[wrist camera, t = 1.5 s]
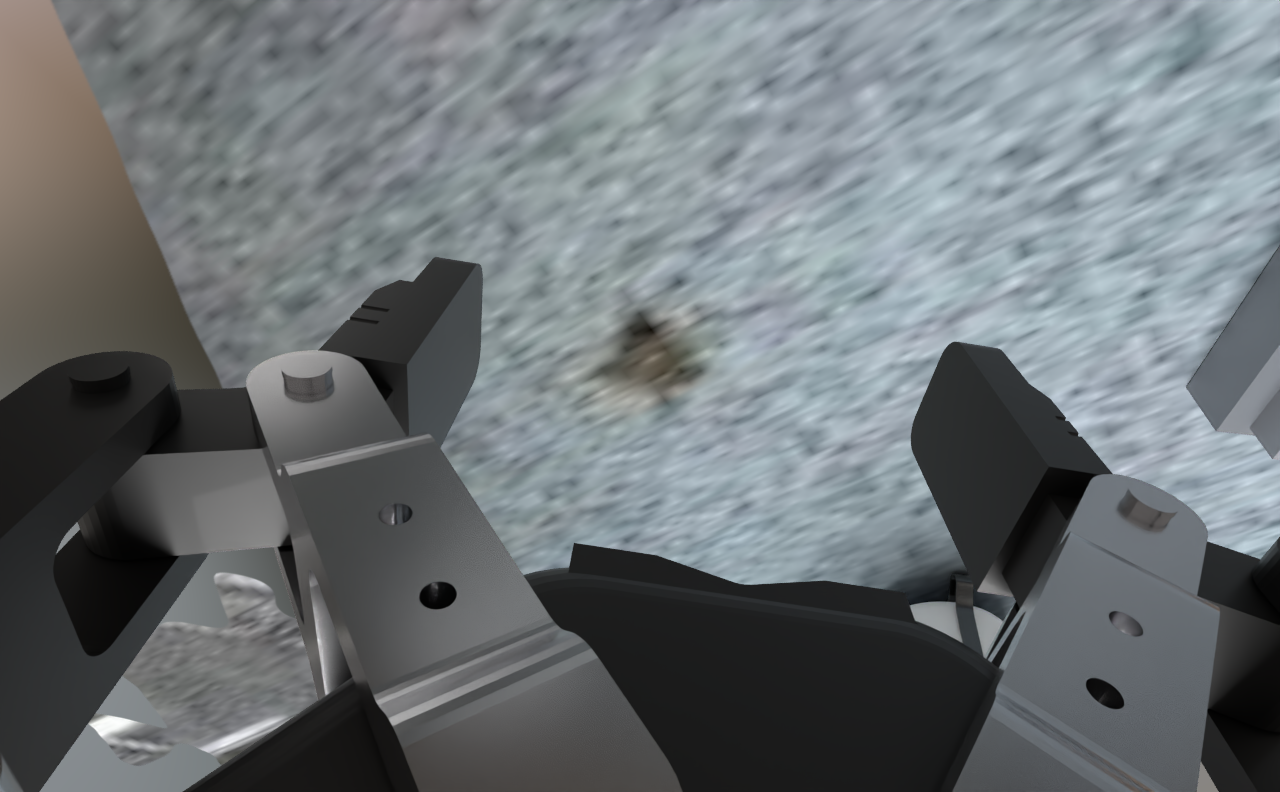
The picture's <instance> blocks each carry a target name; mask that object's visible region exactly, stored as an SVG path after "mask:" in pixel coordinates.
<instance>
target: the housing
mask: <svg viewBox="0 0 1280 792" xmlns="http://www.w3.org/2000/svg"><path fill="white" fill-rule="evenodd" d="M1186 388H1187V390H1188V391H1189V392H1190V394H1191V395H1192V397H1193V398H1194V400H1195V401H1196V403H1197V404H1198V406H1199V407H1200V409H1201V410H1202V411H1203V413H1204V414H1205V416H1206V417H1207V419H1208V420H1209V422H1210V423H1211V425H1212V426H1213V428H1214V429H1215V431H1217V432H1227V433H1236V434H1245V435H1255V436H1256V437H1257V439H1258V440H1259V441H1260V443H1261V444H1262V445H1263V447H1264V448H1265V450H1266V451H1267V452H1268V454H1269V455H1270V456H1271V458H1272V459H1276V460H1280V246H1279V248H1278V249H1277V251H1276V253H1275V254H1274V256H1273V257H1272V259H1271V260H1270V262H1269V263H1268V265H1267V266H1266V268H1265V269H1264V271H1263V272H1262V274H1261V275H1260V277H1259V278H1258V280H1257V281H1256V283H1255V284H1254V286H1253V287H1252V289H1251V290H1250V292H1249V293H1248V295H1247V296H1246V298H1245V299H1244V301H1243V302H1242V304H1241V305H1240V307H1239V308H1238V310H1237V311H1236V313H1235V314H1234V316H1233V317H1232V319H1231V321H1230V322H1229V324H1228V325H1227V327H1226V328H1225V330H1224V331H1223V333H1222V334H1221V336H1220V337H1219V339H1218V340H1217V342H1216V343H1215V345H1214V346H1213V348H1212V349H1211V351H1210V352H1209V354H1208V355H1207V357H1206V358H1205V360H1204V361H1203V363H1202V364H1201V366H1200V367H1199V369H1198V370H1197V372H1196V373H1195V375H1194V376H1193V378H1192V379H1191V381H1190V382H1189V384H1188V385H1187V387H1186Z"/></svg>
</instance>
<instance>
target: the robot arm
mask: <svg viewBox="0 0 1280 792" xmlns="http://www.w3.org/2000/svg"><path fill="white" fill-rule="evenodd" d="M482 286H483V275H482V268H481V265H480V264H476V263H470V262H464V261H457V260H451V259H445V258H439V257H435V258H433V259H432V261H431V262H430V263H429V264H428V265H427V266H426V268H425V269H424V270H423V271H422V272H421V273H420V275H419V276H418V277H417V278H416V279H415V280H414V282H409V281H403V280H398V281H396V282H394V283H391V284H389V285H387V286H384V287H382V288H380V289H377V290H375V291H374V292H373V293H372V294H371V295H370V296H369V298H368V299H367V300H366V301H365V302H364V303H363V304H362V306H361V308H358V309H357V310H356V311H355V312H354V313H353V314H352V315H351V316H350V320H347V321H346V322H345V323H344V324H343V325H342V326H341V327H340V328H339V329H338V330H337V331H336V332H335V333H334V334H333V335H332V336H331V338H330V339H329V340H328V341H327V342H326V343H325V344H324V345H323V346H322V347H321V348H320V349H319V350H318V351H316V350H315V351H299V352H292V353H287V354H283V355H279V356H276V357H273V358H271V359H268V360H266V361H264V362H262V363H261V364H259V365H258V366H256V367H255V368H254V369H253V370H252V371H251V372H250V373H249V375H248V377H247V379H246V387H244V388H230V389H195V390H177V389H176V385H175V381H174V376H173V372H172V369H171V367H170V365H169V364H168V363H167V362H166V361H164V360H163V359H161V358H159V357H156V356H153V355H150V354H145V353H139V352H128V351H121V352H120V351H117V352H102V353H95V354H89V355H84V356H80V357H76V358H73V359H69V360H66V361H64V362H61V363H58V364H56V365H53V366H51V367H49V368H47V369H46V370H44V371H42V372H41V373H39V374H38V375H36V376H35V377H33V378H32V379H30V380H29V381H28V382H26V383H25V384H23V385H22V386H21V387H19V388H18V389H16V390H15V391H13V392H12V393H11V394H9V395H8V396H6V397H5V398H3V399H2V400H1V401H0V792H39V791H40V790H41V789H42V787H43V786H44V784H45V783H46V782H47V780H48V779H49V777H50V776H51V774H52V773H53V772H54V770H55V769H56V767H57V766H58V765H59V763H60V762H61V760H62V759H63V758H64V756H65V755H66V754H67V752H68V751H69V749H70V748H71V746H72V745H73V744H74V742H75V741H76V739H77V738H78V737H79V735H80V734H81V733H82V731H83V730H84V728H85V727H86V725H87V724H88V723H89V721H90V720H91V718H92V717H93V716H94V714H95V713H96V711H97V710H98V709H99V707H100V706H101V704H102V703H103V701H104V700H105V699H106V697H107V696H108V695H109V693H110V692H111V690H112V689H113V688H114V686H115V685H116V683H117V682H118V681H119V679H120V678H121V676H122V675H123V674H124V672H125V671H126V669H127V668H128V667H129V665H130V664H131V662H132V661H133V660H134V658H135V657H136V655H137V654H138V653H139V651H140V650H141V648H142V647H143V646H144V644H145V643H146V641H147V640H148V639H149V637H150V636H151V634H152V633H153V632H154V630H155V629H156V627H157V626H158V625H159V623H160V622H161V620H162V619H163V617H164V616H165V614H166V613H167V612H168V610H169V609H170V608H171V606H172V605H173V603H174V602H175V601H176V599H177V598H178V597H179V595H180V594H181V592H182V591H183V589H184V588H185V587H186V585H187V584H188V582H189V581H190V580H191V578H192V577H193V575H194V574H195V573H196V571H197V570H198V568H199V567H200V566H201V564H202V563H203V561H204V560H205V559H206V557H207V555H208V554H209V553H210V552H221V551H233V550H243V549H255V548H266V547H274V548H275V554H276V557H277V560H278V563H279V566H280V570H281V572H282V576H283V579H284V582H285V585H286V588H287V591H288V594H289V598H290V601H291V604H292V607H293V610H294V613H295V616H296V619H297V623H298V626H299V629H300V632H301V635H302V638H303V641H304V644H305V648H306V651H307V655H308V658H309V662H310V666H311V671H312V675H313V680H314V684H315V688H316V693H317V697H318V701H317V702H315V703H314V704H312V705H311V706H309V707H308V708H306V709H305V710H303V711H302V712H300V713H299V714H297V715H296V716H294V717H293V718H291V719H290V720H289V721H287V722H286V723H284V724H283V725H281V726H280V727H278V728H277V729H275V730H274V731H272V732H271V733H269V734H268V735H266V736H265V737H263V738H262V739H260V740H259V741H257V742H256V743H254V744H253V745H251V746H250V747H248V748H247V749H245V750H244V751H243V752H241V753H240V754H238V755H237V756H235V757H234V758H232V759H231V760H229V761H228V762H226V763H225V764H223V765H222V766H220V767H219V768H217V769H216V770H214V771H213V772H211V773H210V774H208V775H207V776H205V777H204V778H203V779H201V780H199V781H198V782H197V783H195V784H194V785H192V786H191V787H189V788H188V789H186V790H185V791H183V792H1197V784H1198V777H1199V769H1200V762H1202V764H1203V765H1204V767H1205V769H1206V770H1207V772H1208V774H1209V776H1210V777H1211V779H1212V781H1213V782H1214V784H1215V786H1216V788H1217V789H1218V791H1219V792H1280V537H1279V538H1278V540H1277V541H1276V542H1275V543H1274V544H1273V545H1272V547H1271V548H1270V549H1269V550H1268V551H1267V552H1266V554H1265V555H1264V556H1263V557H1262V558H1261V560H1260V559H1258V558H1255V557H1252V556H1249V555H1246V554H1243V553H1240V552H1237V551H1234V550H1231V549H1228V548H1225V547H1222V546H1219V545H1216V544H1213V543H1210V542H1207V538H1208V531H1207V528H1206V526H1205V524H1204V523H1203V521H1202V520H1201V519H1200V517H1199V516H1198V515H1197V514H1196V513H1195V512H1194V511H1193V510H1192V509H1190V508H1189V507H1188V506H1187V505H1185V504H1184V503H1183V502H1181V501H1180V500H1178V499H1177V498H1175V497H1174V496H1172V495H1171V494H1169V493H1167V492H1165V491H1163V490H1161V489H1159V488H1157V487H1155V486H1153V485H1151V484H1148V483H1146V482H1143V481H1140V480H1137V479H1134V478H1131V477H1127V476H1122V475H1115V474H1112V473H1111V471H1110V470H1109V469H1108V468H1107V467H1106V465H1105V464H1104V463H1103V462H1102V461H1101V459H1100V458H1099V457H1098V456H1097V455H1096V453H1095V452H1094V451H1093V450H1092V449H1091V447H1090V446H1089V445H1088V444H1087V443H1086V441H1085V440H1084V439H1083V438H1082V437H1079V436H1078V432H1077V430H1076V429H1075V428H1074V427H1073V426H1072V424H1071V423H1070V422H1069V421H1065V418H1066V417H1065V416H1064V415H1063V414H1062V412H1061V411H1060V410H1059V409H1058V408H1057V406H1056V405H1055V404H1054V403H1053V402H1052V400H1051V399H1050V398H1048V397H1047V396H1045V395H1044V394H1043V393H1041V392H1040V391H1038V390H1037V389H1036V388H1034V387H1033V386H1031V385H1030V384H1029V383H1028V382H1027V381H1026V380H1025V378H1024V377H1023V376H1022V375H1021V373H1020V372H1019V371H1018V370H1017V369H1016V367H1015V366H1014V365H1013V364H1012V362H1011V361H1010V360H1009V359H1008V357H1007V356H1006V355H1005V354H1004V352H1003V351H1002V350H1000V349H998V348H992V347H986V346H980V345H973V344H967V343H961V342H952V343H951V344H949V345H948V346H947V347H946V349H945V350H944V352H943V353H942V356H941V358H940V360H939V362H938V365H937V367H936V369H935V372H934V374H933V376H932V379H931V381H930V383H929V386H928V388H927V390H926V393H925V395H924V397H923V400H922V402H921V404H920V407H919V409H918V411H917V414H916V416H915V419H914V422H913V426H912V432H911V446H912V451H913V454H914V456H915V458H916V460H917V463H918V465H919V467H920V469H921V471H922V474H923V476H924V478H925V480H926V482H927V484H928V487H929V489H930V491H931V493H932V495H933V497H934V500H935V502H936V504H937V506H938V508H939V510H940V513H941V515H942V517H943V519H944V521H945V523H946V526H947V528H948V530H949V532H950V534H951V536H952V539H953V541H954V543H955V545H956V547H957V550H958V552H959V554H960V556H961V558H962V560H963V563H964V565H965V567H966V569H967V571H968V573H969V576H970V578H971V580H972V582H973V584H974V586H975V589H976V591H977V592H983V593H989V594H996V595H1003V596H1009V597H1014V598H1015V600H1016V601H1015V603H1014V604H1013V606H1012V608H1011V609H1010V611H1009V612H1008V614H1007V616H1006V617H1005V619H1004V621H1003V623H1002V625H1001V627H1000V628H999V630H998V632H997V634H996V636H995V638H994V640H993V642H992V644H991V646H990V648H989V649H988V651H987V653H986V655H985V657H983V656H982V655H980V654H979V653H977V652H976V651H974V650H973V649H971V648H970V647H968V646H966V645H965V644H963V643H962V642H960V641H958V640H956V639H954V638H952V637H951V636H949V635H947V634H945V633H943V632H941V631H939V630H937V629H934V628H932V627H930V626H928V625H925V624H923V623H920V622H918V621H915V619H914V617H913V614H912V611H911V608H910V605H909V602H908V599H907V596H906V593H903V592H897V591H890V590H883V589H877V588H870V587H863V586H857V585H850V584H843V583H837V582H830V581H811V582H793V583H775V584H758V585H744V584H738V583H734V582H731V581H728V580H725V579H723V578H720V577H717V576H714V575H711V574H708V573H705V572H703V571H700V570H697V569H694V568H691V567H688V566H685V565H682V564H680V563H677V562H674V561H671V560H668V559H665V558H662V557H659V556H657V555H650V554H643V553H637V552H630V551H623V550H617V549H610V548H603V547H597V546H590V545H583V544H577V543H574V546H573V551H572V556H571V561H570V566H569V568H558V569H550V570H544V571H538V572H533V573H529V574H526V575H523V574H522V573H521V571H520V570H519V568H518V566H517V565H516V563H515V562H514V560H513V559H512V557H511V556H510V554H509V553H508V551H507V550H506V548H505V547H504V545H503V544H502V542H501V540H500V539H499V537H498V536H497V534H496V533H495V531H494V530H493V528H492V527H491V525H490V524H489V522H488V521H487V519H486V518H485V516H484V514H483V513H482V511H481V510H480V508H479V507H478V505H477V504H476V502H475V501H474V499H473V498H472V496H471V495H470V493H469V492H468V490H467V488H466V487H465V485H464V484H463V482H462V481H461V479H460V478H459V476H458V475H457V473H456V472H455V470H454V469H453V467H452V465H451V464H450V462H449V461H448V459H447V458H446V456H445V455H444V453H443V452H442V450H441V449H440V447H441V446H442V444H443V442H444V440H445V438H446V436H447V434H448V432H449V430H450V428H451V426H452V424H453V422H454V420H455V418H456V416H457V414H458V412H459V410H460V408H461V406H462V404H463V402H464V400H465V398H466V396H467V394H468V392H469V390H470V388H471V387H472V385H473V382H474V380H475V377H476V373H477V369H478V364H479V358H480V348H481V318H482ZM76 522H78V524H79V527H80V530H79V531H78V532H77V533H76V534H75V535H74V536H73V537H72V538H71V539H70V540H69V541H68V543H67V544H66V545H65V546H64V547H63V548H62V549H61V550H60V551H59V552H58V553H57V554H56V552H57V549H58V546H59V545H60V543H61V541H62V539H63V538H64V536H65V535H66V533H67V532H68V531H69V530H70V529H71V528H72V527H73V526H74V525H75V524H76Z"/></svg>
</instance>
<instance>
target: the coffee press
mask: <svg viewBox="0 0 1280 792" xmlns="http://www.w3.org/2000/svg"><path fill="white" fill-rule="evenodd" d="M910 608H911V611H912V614H913V617H914V619H915V621H918V622H920V623H923V624H925V625H928V626H930V627H932V628H934V629H937V630H939V631H941V632H943V633H945V634H947V635H949V636H951V637H952V638H954V639H956V640H958V641H960V642H962V643H963V644H965V645H966V646H968V647H970V648H971V649H973V650H974V651H976V652H977V653H979V654H980V655H982V656H983V657H985V655H986V653H987V651H988V649H989V648H990V646H991V644H992V642H993V640H994V638H995V636H996V634H997V632H998V630H999V628H1000V627H1001V625H1002V623H1003V621H1002V620H1001V619H999V618H998V617H996V616H995V615H993V614H991V613H990V612H988V611H985V610H983V609H981V608H978V607H975V606H973V582H972V580H971V578H970V576H968V575H961V574H954V573H953V574H952V575H951V578H950V585H949V594H948V599H947V601H946V602H925V603H918V604H914V605H910Z"/></svg>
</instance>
